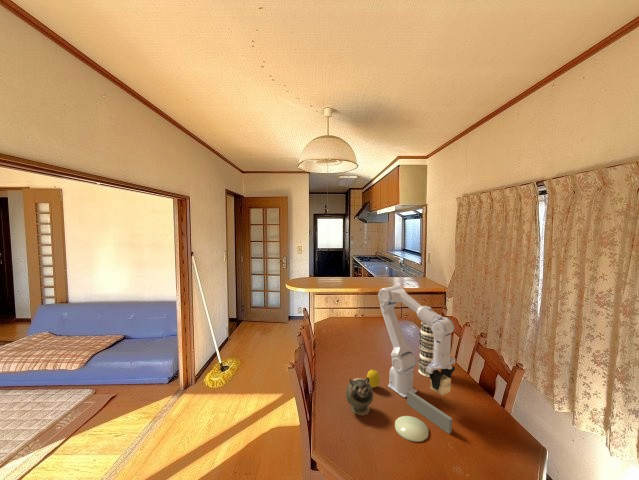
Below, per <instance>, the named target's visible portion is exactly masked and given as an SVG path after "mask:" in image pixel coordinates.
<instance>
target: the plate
mask: <svg viewBox="0 0 639 480" xmlns="http://www.w3.org/2000/svg"><path fill="white" fill-rule="evenodd" d="M394 428H395V431H396V432H397V434H398V435H399V436H400V438H401V437H402V438H403V439H405V440H407V441H410V442H414V443H417V442H419V443H420V442H424V441H426V440H427V439H428V437H429V431H430V430H429V428H428V426H427V425H426V424H425V422H424V421H423V420H421V419H420V418H417V417H415V416H411V415H403V416H399V417H398V418H397V419H395V422H394Z"/></svg>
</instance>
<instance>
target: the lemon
mask: <svg viewBox="0 0 639 480" xmlns="http://www.w3.org/2000/svg"><path fill="white" fill-rule="evenodd" d="M367 377H368V378H369V380H370V382H369V384H370V385H371V387H372V389H374V388H376V387H378V386H379V384H380V380H381V379H380V373H379V372H378V371H377V370H375V369H370V370H368V372H367V375H366V378H367Z"/></svg>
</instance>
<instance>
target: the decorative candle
mask: <svg viewBox="0 0 639 480" xmlns="http://www.w3.org/2000/svg"><path fill="white" fill-rule="evenodd" d="M418 336H419V338H418V339H419V341H418V343H419V345H418V346H419V349H420V351H419V356H418V368H417V369H418V373H419V374H420V375H422V376H424V377H427V378H430V375H429V373H428V372H427V371H426V368H427V366H428V365H429V364H430V363H431V362H432V360H433V351H434V334H433V332H432V330H431V327H429V326H428V325H427V324H426V323H424V322H423V321H421V322H420V331H419V333H418Z"/></svg>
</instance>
